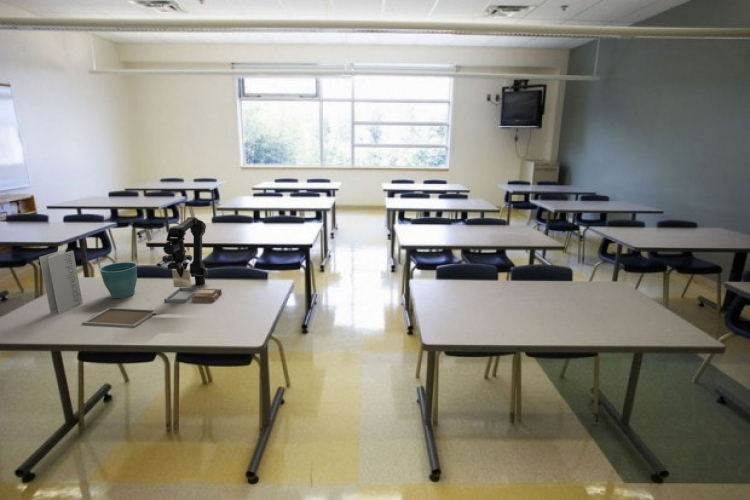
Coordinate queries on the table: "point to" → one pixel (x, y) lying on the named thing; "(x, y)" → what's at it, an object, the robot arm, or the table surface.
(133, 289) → the flower pot
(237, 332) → the table surface
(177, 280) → the birch sheet
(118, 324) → the picture frame
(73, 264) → the brochure
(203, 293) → the upper oak offcut
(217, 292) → the walnut rack
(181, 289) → the gray tray
